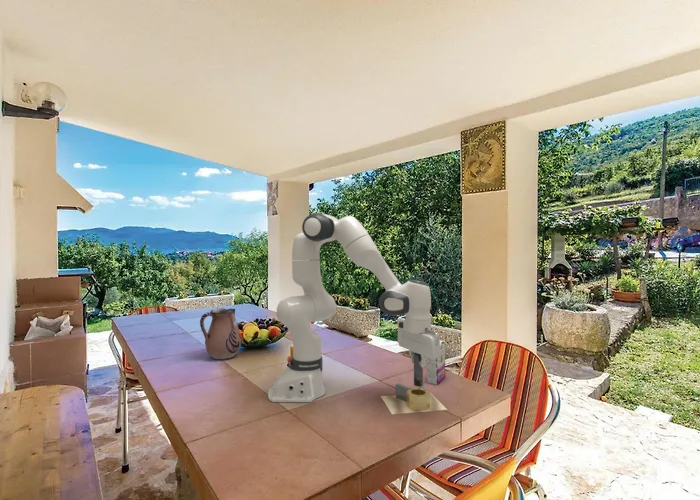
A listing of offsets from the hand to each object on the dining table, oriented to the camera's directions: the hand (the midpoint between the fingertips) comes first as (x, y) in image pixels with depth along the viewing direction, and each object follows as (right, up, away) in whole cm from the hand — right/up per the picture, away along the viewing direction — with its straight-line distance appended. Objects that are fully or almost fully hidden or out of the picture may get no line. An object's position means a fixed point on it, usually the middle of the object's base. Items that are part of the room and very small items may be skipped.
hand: (418, 364), depth 130 cm
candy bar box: (+13, -16, +29) cm, 36 cm away
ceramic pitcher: (-92, -16, +61) cm, 111 cm away
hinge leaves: (0, -15, +3) cm, 15 cm away
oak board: (-2, -16, +3) cm, 17 cm away
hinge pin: (0, -7, 0) cm, 7 cm away
